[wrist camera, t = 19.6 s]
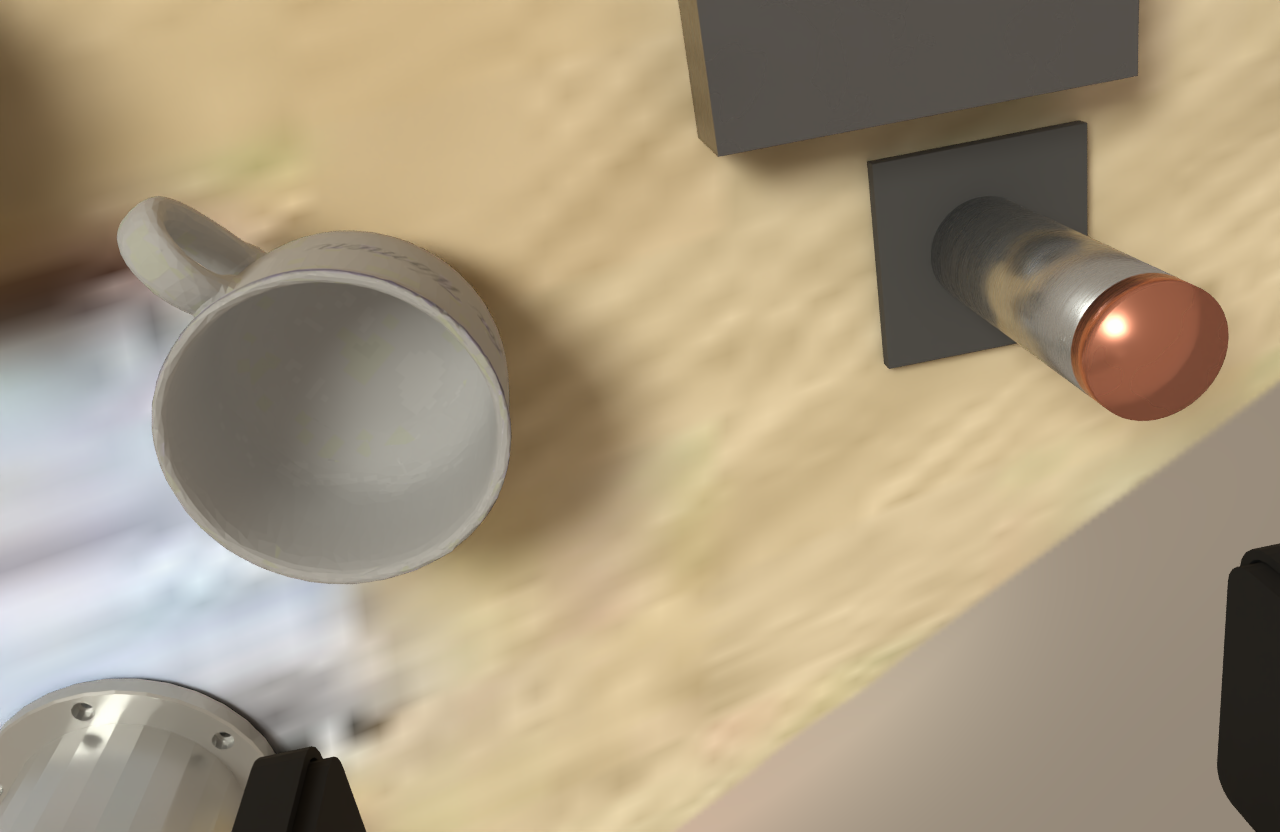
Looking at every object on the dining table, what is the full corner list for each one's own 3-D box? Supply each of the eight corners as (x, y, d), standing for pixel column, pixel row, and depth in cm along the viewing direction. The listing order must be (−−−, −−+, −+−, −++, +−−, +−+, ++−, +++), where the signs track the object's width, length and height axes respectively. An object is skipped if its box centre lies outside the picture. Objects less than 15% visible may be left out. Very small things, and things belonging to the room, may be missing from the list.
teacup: (562, 400, 42) (574, 494, 35) (323, 530, 43) (286, 647, 36) (358, 70, 37) (320, 98, 29) (90, 226, 38) (-11, 292, 30)
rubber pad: (1080, 324, 43) (1087, 328, 43) (884, 363, 43) (888, 368, 42) (1079, 120, 40) (1086, 122, 39) (867, 161, 40) (872, 164, 39)
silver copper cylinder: (1032, 186, 40) (1231, 269, 29) (1035, 289, 42) (1225, 404, 31) (927, 207, 40) (1087, 299, 29) (934, 310, 42) (1088, 433, 31)
